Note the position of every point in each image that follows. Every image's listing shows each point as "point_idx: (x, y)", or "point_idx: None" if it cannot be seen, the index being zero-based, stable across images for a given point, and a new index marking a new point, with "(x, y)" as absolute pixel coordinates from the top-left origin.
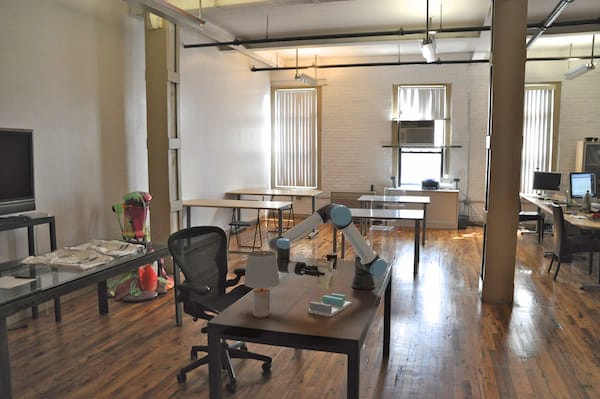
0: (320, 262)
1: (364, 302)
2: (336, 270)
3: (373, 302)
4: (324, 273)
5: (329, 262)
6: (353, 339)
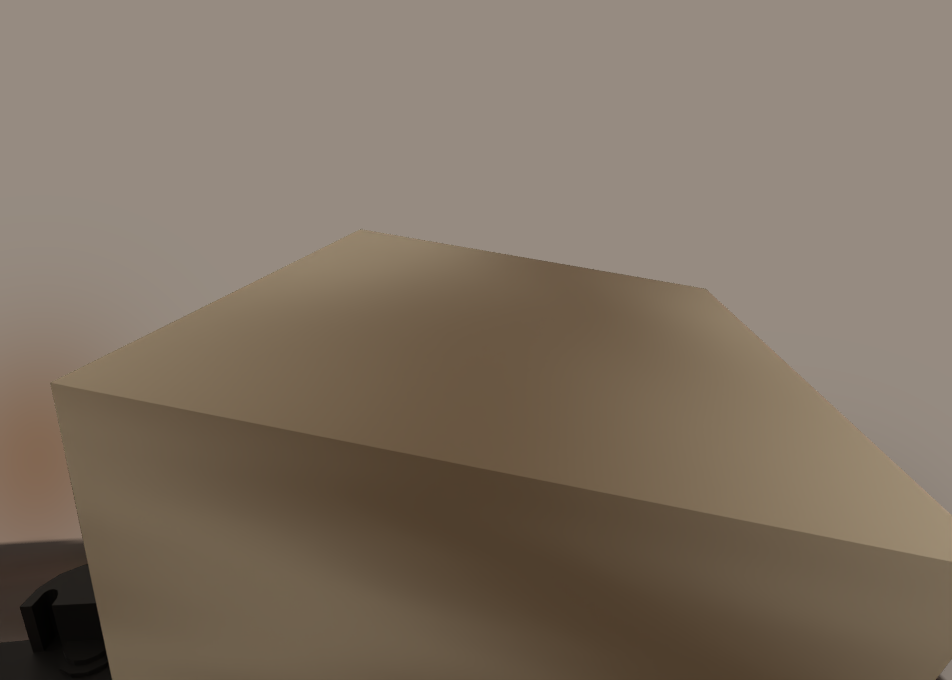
0: (754, 440)
1: (10, 609)
2: None
3: (36, 542)
4: None
5: (483, 261)
6: None
